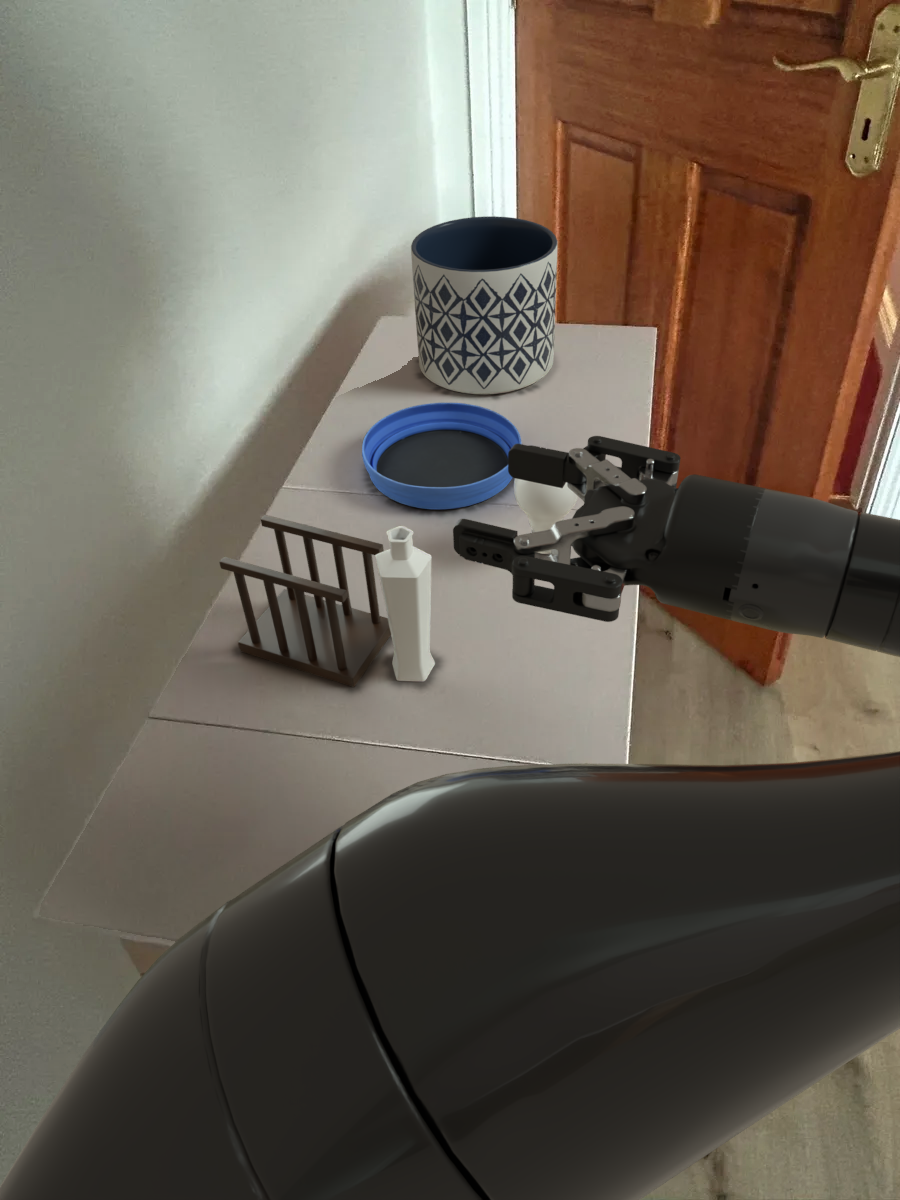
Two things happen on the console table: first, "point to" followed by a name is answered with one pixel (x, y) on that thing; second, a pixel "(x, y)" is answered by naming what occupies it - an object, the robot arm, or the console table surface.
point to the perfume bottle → (407, 603)
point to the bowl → (440, 455)
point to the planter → (485, 303)
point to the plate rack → (312, 609)
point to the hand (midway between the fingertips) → (484, 495)
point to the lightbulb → (543, 504)
